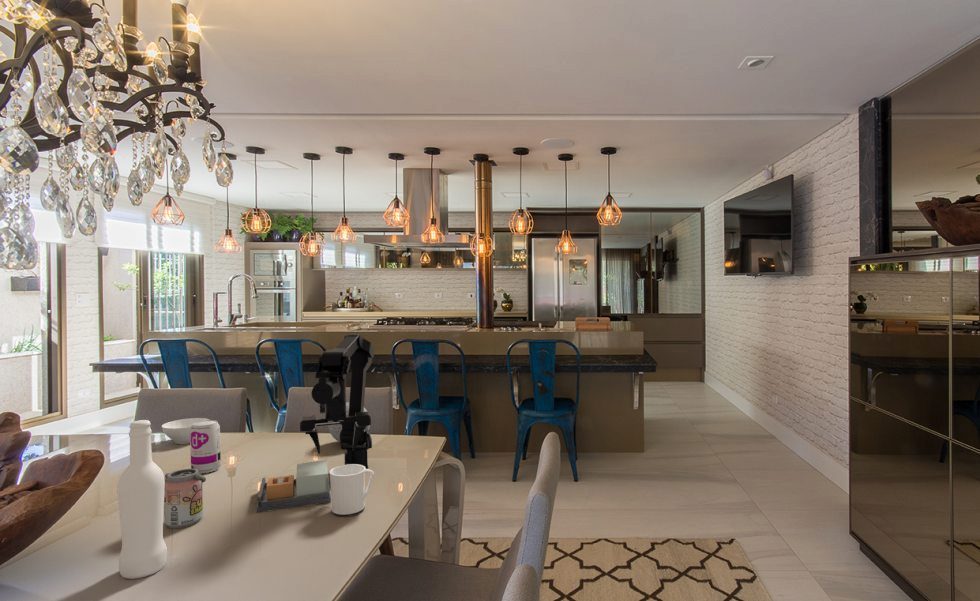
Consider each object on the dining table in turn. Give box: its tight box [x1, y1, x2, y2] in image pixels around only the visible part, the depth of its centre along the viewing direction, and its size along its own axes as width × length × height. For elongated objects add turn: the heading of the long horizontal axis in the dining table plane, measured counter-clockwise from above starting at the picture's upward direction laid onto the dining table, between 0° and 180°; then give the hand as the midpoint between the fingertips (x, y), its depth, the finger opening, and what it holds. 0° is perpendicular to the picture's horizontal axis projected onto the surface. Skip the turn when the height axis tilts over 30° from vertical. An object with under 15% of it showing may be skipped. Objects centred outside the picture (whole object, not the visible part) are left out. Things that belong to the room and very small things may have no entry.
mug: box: [328, 464, 375, 518], centre depth 133 cm, size 11×9×10 cm
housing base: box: [256, 477, 332, 513], centre depth 143 cm, size 18×16×5 cm
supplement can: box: [189, 419, 222, 475], centre depth 165 cm, size 8×8×15 cm
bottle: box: [116, 419, 168, 580], centre depth 105 cm, size 8×8×30 cm
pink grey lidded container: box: [163, 468, 207, 529], centre depth 128 cm, size 9×8×12 cm
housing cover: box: [295, 459, 329, 496], centre depth 144 cm, size 8×12×6 cm, turn 19°
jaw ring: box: [266, 474, 295, 499], centre depth 142 cm, size 7×7×4 cm
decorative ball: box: [327, 401, 371, 443], centre depth 193 cm, size 15×15×15 cm
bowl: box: [161, 417, 210, 445], centre depth 198 cm, size 16×16×7 cm
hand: (336, 451), depth 146 cm, fingers open, 9 cm apart
